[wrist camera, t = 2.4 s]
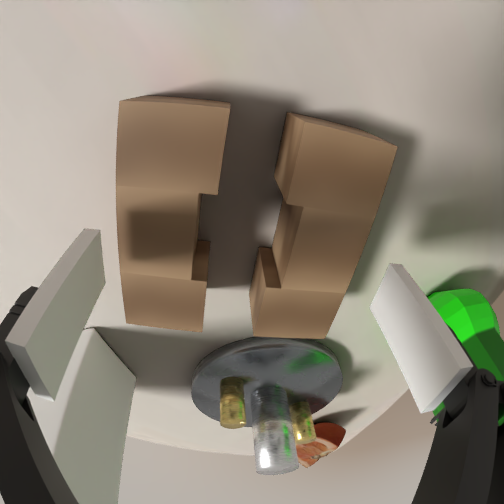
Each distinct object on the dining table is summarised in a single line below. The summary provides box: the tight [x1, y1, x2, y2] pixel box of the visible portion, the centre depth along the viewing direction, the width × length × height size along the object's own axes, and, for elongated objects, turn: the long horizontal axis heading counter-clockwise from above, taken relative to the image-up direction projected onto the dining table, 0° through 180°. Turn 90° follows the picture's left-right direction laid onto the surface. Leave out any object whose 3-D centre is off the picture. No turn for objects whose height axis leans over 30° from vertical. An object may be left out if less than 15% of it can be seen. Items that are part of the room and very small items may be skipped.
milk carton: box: [27, 328, 136, 504], centre depth 16 cm, size 7×7×19 cm
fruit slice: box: [294, 422, 346, 468], centre depth 32 cm, size 8×7×5 cm
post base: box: [191, 337, 343, 475], centre depth 23 cm, size 14×14×9 cm
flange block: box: [116, 96, 397, 339], centre depth 16 cm, size 12×12×4 cm
